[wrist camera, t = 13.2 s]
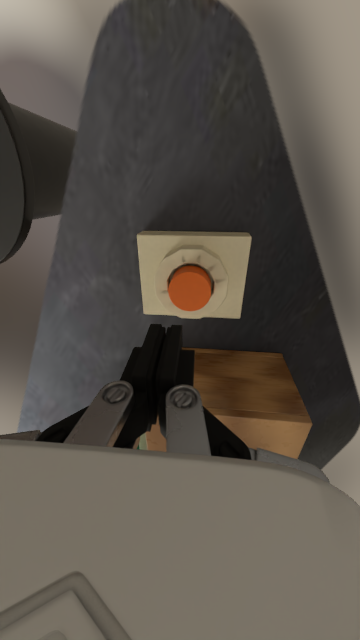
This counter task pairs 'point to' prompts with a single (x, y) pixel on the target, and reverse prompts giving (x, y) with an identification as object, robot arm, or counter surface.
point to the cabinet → (248, 400)
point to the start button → (190, 288)
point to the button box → (194, 250)
